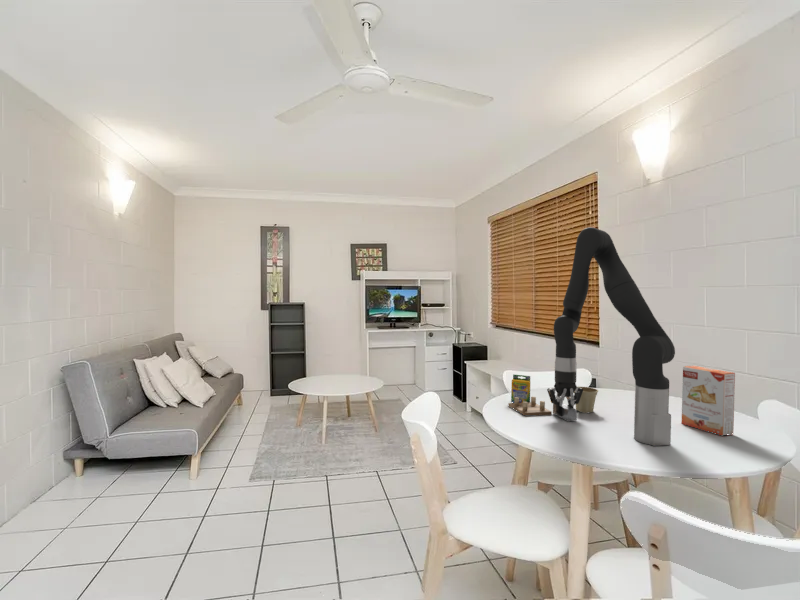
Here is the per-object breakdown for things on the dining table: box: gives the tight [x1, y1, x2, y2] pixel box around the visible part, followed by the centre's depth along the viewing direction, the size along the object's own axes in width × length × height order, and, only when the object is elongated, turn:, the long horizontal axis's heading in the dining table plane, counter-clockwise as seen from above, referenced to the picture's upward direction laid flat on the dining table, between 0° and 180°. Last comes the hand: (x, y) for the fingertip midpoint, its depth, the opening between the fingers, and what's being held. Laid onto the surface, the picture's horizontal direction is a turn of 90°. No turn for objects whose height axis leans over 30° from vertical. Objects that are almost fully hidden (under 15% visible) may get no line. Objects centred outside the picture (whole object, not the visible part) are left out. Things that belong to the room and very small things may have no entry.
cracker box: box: [681, 365, 736, 436], centre depth 146 cm, size 14×6×21 cm, turn 21°
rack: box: [508, 396, 553, 416], centre depth 168 cm, size 14×11×4 cm
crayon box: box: [510, 374, 531, 403], centre depth 178 cm, size 7×3×12 cm, turn 64°
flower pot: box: [573, 386, 599, 414], centre depth 168 cm, size 9×9×9 cm
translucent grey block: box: [552, 402, 578, 422], centre depth 158 cm, size 10×4×4 cm, turn 11°
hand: (564, 415), depth 158 cm, fingers closed on translucent grey block, 3 cm apart
